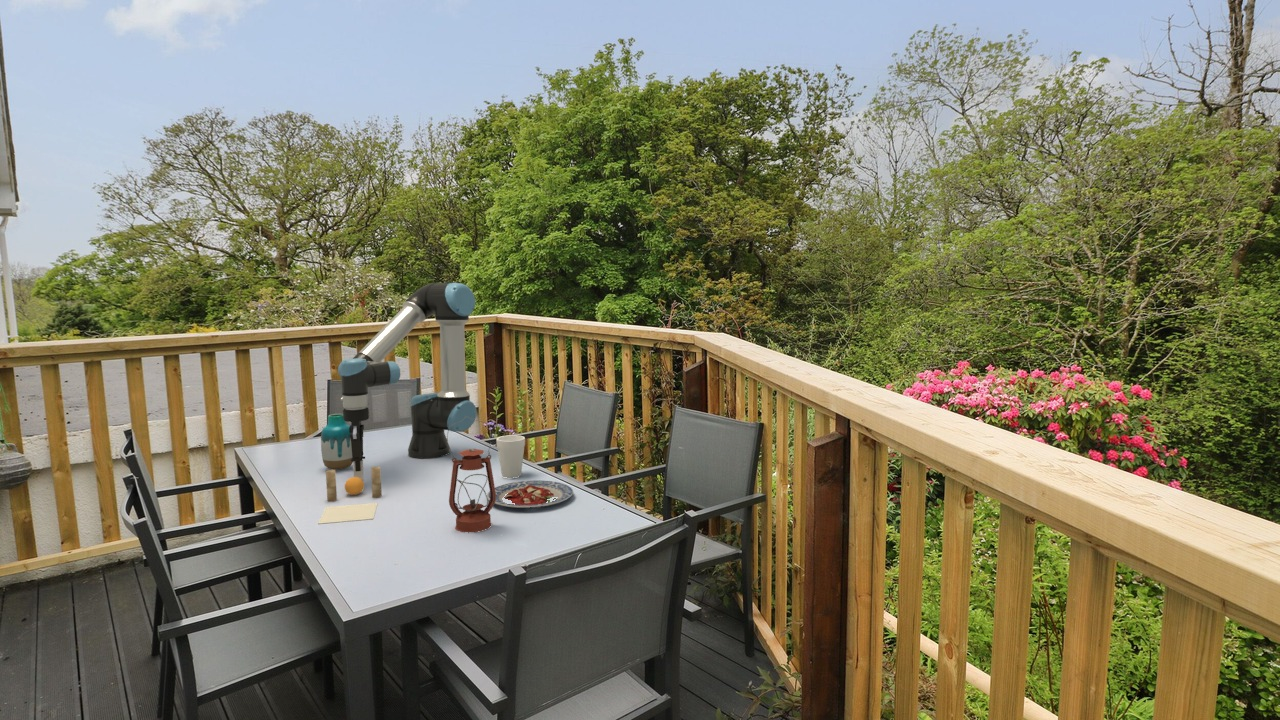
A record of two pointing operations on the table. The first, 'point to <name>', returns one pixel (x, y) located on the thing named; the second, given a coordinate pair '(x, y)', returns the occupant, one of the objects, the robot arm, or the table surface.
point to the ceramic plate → (531, 493)
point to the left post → (331, 485)
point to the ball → (354, 486)
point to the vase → (336, 443)
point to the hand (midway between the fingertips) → (359, 480)
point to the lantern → (473, 515)
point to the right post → (376, 482)
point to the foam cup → (511, 454)
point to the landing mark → (348, 513)
